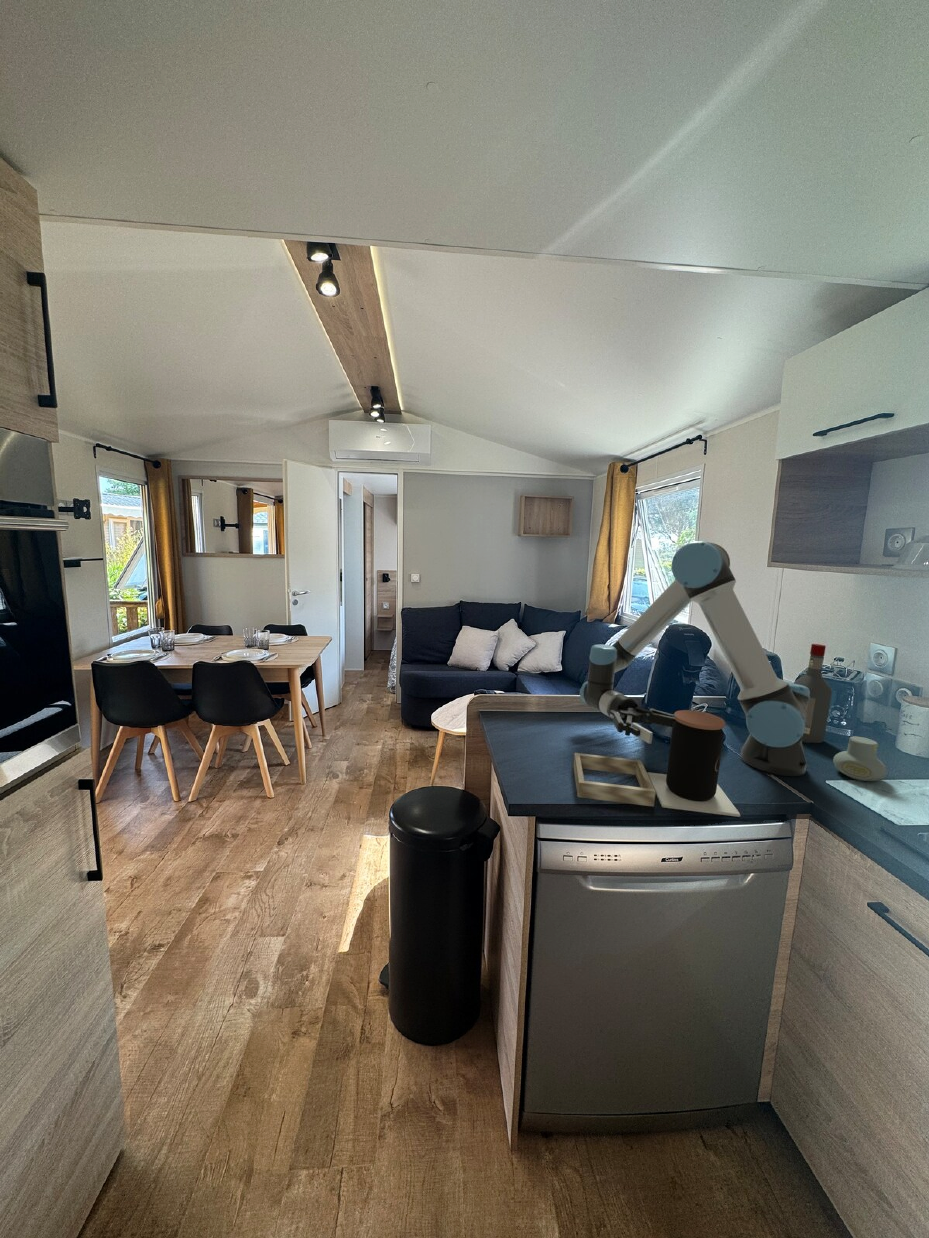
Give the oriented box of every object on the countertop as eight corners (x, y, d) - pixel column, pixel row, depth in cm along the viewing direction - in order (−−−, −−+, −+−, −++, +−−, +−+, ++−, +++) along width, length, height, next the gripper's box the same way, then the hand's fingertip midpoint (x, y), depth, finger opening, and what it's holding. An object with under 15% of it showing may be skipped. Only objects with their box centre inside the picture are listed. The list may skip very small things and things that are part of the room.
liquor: (804, 732, 160) (819, 642, 155) (828, 743, 151) (844, 648, 146) (779, 732, 159) (793, 641, 154) (802, 743, 150) (818, 647, 145)
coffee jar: (721, 806, 108) (732, 728, 105) (670, 799, 110) (679, 722, 107) (707, 783, 118) (717, 712, 115) (661, 777, 120) (669, 707, 117)
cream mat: (714, 782, 121) (714, 779, 120) (739, 816, 105) (740, 814, 105) (646, 774, 123) (647, 772, 123) (662, 807, 107) (662, 804, 107)
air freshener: (886, 779, 127) (893, 743, 126) (881, 789, 122) (888, 751, 120) (835, 764, 135) (841, 730, 134) (828, 772, 130) (834, 737, 128)
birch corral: (639, 773, 123) (640, 760, 123) (653, 806, 107) (655, 791, 107) (573, 765, 126) (574, 752, 125) (577, 797, 110) (579, 782, 109)
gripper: (653, 717, 143) (711, 746, 123) (579, 723, 135) (629, 755, 115) (656, 692, 142) (715, 717, 122) (582, 697, 133) (632, 724, 114)
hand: (673, 735), depth 118 cm, fingers open, 13 cm apart
